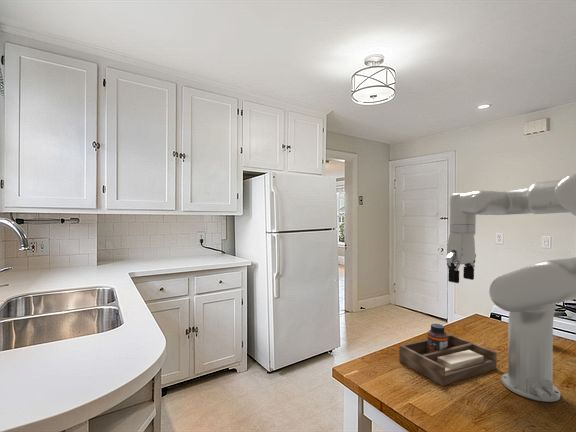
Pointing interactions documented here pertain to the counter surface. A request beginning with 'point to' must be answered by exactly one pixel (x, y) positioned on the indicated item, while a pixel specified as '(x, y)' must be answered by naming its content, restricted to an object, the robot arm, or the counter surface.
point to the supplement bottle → (436, 338)
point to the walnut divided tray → (426, 363)
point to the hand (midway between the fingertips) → (461, 280)
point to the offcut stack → (459, 360)
